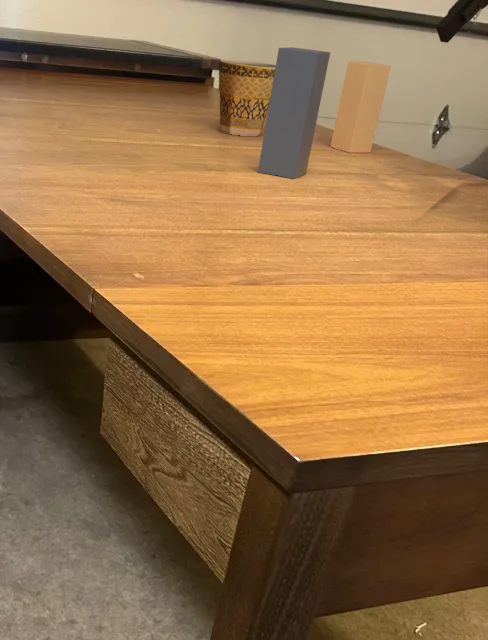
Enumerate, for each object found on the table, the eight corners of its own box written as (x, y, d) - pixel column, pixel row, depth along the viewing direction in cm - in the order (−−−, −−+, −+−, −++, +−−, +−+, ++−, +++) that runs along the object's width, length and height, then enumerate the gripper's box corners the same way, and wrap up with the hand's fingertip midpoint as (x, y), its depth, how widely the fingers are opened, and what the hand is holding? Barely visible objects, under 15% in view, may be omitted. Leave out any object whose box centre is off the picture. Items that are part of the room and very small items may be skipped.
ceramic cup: (267, 141, 130) (279, 69, 124) (205, 132, 131) (214, 61, 126) (275, 130, 140) (286, 64, 135) (218, 123, 142) (227, 57, 136)
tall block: (350, 147, 132) (370, 62, 125) (370, 152, 129) (391, 65, 122) (330, 147, 130) (348, 60, 123) (349, 152, 127) (369, 64, 120)
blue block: (270, 167, 110) (291, 47, 102) (306, 174, 108) (330, 52, 100) (257, 172, 106) (278, 47, 98) (294, 179, 104) (318, 52, 97)
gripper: (592, -62, 123) (481, 60, 125) (520, -63, 132) (417, 50, 134) (585, -112, 117) (468, 16, 119) (510, -109, 127) (403, 10, 129)
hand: (441, 34), depth 127 cm, fingers closed
